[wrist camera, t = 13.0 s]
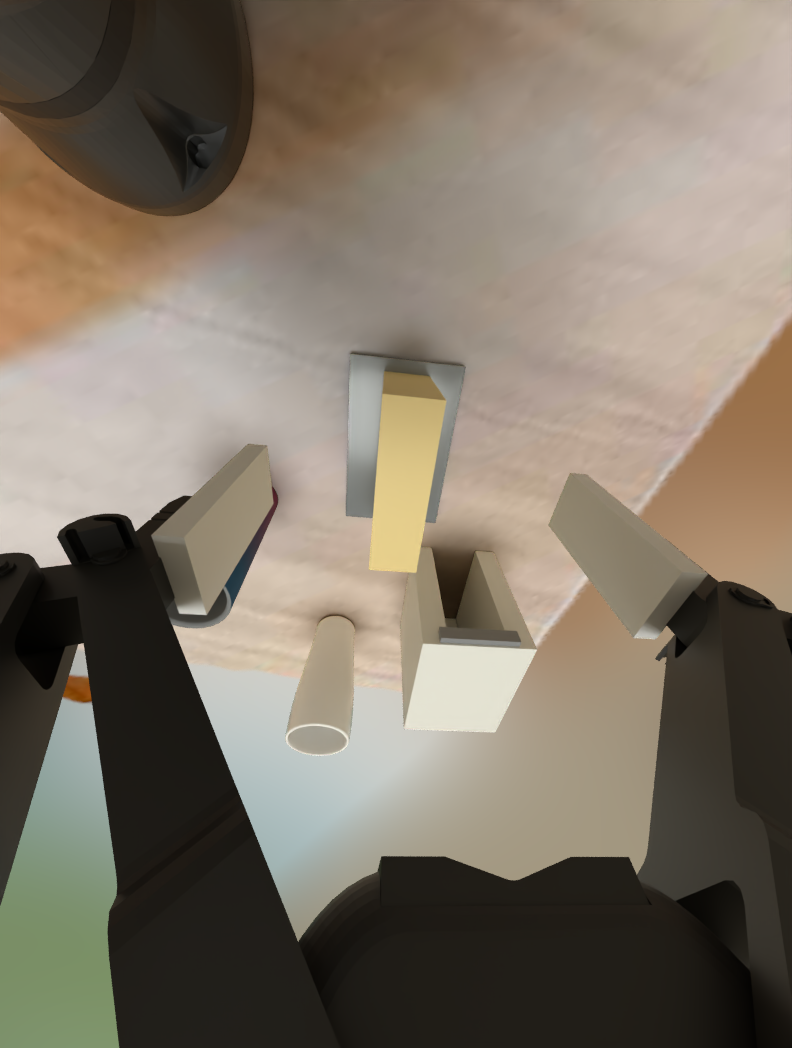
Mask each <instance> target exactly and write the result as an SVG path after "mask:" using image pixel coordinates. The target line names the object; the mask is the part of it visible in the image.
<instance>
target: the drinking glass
mask: <svg viewBox="0 0 792 1048" xmlns="http://www.w3.org/2000/svg"><path fill="white" fill-rule="evenodd" d="M354 636H355V628H354V625H353V624H352V622H351V621H349V620H348V619H346V618H344V617H341V616H329V617H326V618H324V619H323V620H321V621H320V622H319V624H318V626H317V629H316V633H315V637H314V640H313V643H312V646H311V649H310V652H309V655H308V658H307V661H306V664H305V667H304V670H303V673H302V676H301V679H300V682H299V685H298V688H297V691H296V694H295V697H294V701H293V704H292V708H291V712H290V716H289V722H288V726H287V731H286V736H285V739H286V742H287V744H288V745H289V746H290V747H291V748H292V749H294V750H295V751H298V752H300V753H304V754H307V755H314V756H323V755H324V756H325V755H331V754H335V753H338V752H340V751H342V750H344V749H345V748H346V746H347V745H348V743H349V739H350V731H351V724H352V714H353V694H354Z"/></svg>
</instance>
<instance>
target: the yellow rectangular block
mask: <svg viewBox="0 0 792 1048" xmlns="http://www.w3.org/2000/svg"><path fill="white" fill-rule="evenodd" d="M445 406H446V399H445V398H444V396H443V395H442V393H441V392H440V390H439V389H438V388H437V386H436V385H435V383H434V382H433V380H432V379H431V377H430V376H424V375H415V374H406V373H396V372H387V371H384V380H383V392H382V405H381V418H380V431H379V444H378V457H377V470H376V483H375V496H374V509H373V522H372V535H371V548H370V561H369V570H381V571H396V572H411V573H416V571H417V565H418V560H419V554H420V548H421V543H422V537H423V531H424V525H425V520H426V514H427V508H428V503H429V497H430V491H431V486H432V480H433V474H434V469H435V463H436V457H437V452H438V446H439V440H440V435H441V429H442V423H443V417H444V412H445Z"/></svg>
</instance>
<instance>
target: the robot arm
mask: <svg viewBox="0 0 792 1048" xmlns="http://www.w3.org/2000/svg"><path fill="white" fill-rule="evenodd" d="M252 105H253V76H252V63H251V53H250V47H249V40H248V34H247V29H246V24H245V20H244V16H243V11H242V7H241V4H240V0H0V112H1V113H3V114H4V115H5V116H6V117H7V118H8V119H9V120H10V121H11V122H12V123H13V124H14V125H15V126H17V127H18V128H19V129H20V130H21V131H22V132H23V133H24V134H25V135H26V136H28V137H29V138H30V139H31V140H32V141H33V142H34V143H35V144H36V145H37V146H38V147H39V148H40V150H41V151H43V152H44V153H45V154H46V155H47V156H48V157H49V158H50V159H51V160H52V161H53V162H54V163H56V164H57V165H58V166H59V167H60V168H61V169H63V170H64V171H65V172H67V173H68V174H69V175H70V176H72V177H73V178H75V179H76V180H78V181H79V182H81V183H82V184H84V185H85V186H87V187H88V188H90V189H92V190H93V191H95V192H97V193H99V194H101V195H102V196H104V197H107V198H109V199H111V200H113V201H116V202H118V203H120V204H123V205H125V206H127V207H130V208H132V209H135V210H138V211H141V212H144V213H148V214H153V215H160V216H177V215H184V214H188V213H191V212H194V211H197V210H199V209H201V208H203V207H205V206H206V205H208V204H209V203H211V202H212V201H213V200H214V199H216V198H217V197H218V196H219V195H220V194H221V193H222V192H223V190H224V189H225V188H226V187H227V186H228V184H229V183H230V181H231V180H232V178H233V176H234V175H235V173H236V171H237V169H238V167H239V164H240V162H241V160H242V157H243V154H244V151H245V148H246V144H247V140H248V136H249V131H250V124H251V117H252ZM273 504H274V503H273V494H272V485H271V476H270V467H269V458H268V449H267V446H266V445H254V444H248V445H247V446H245V447H244V448H243V449H242V450H241V451H240V452H239V453H238V454H237V455H236V456H235V457H234V458H233V459H232V460H231V461H230V462H228V463H227V464H226V465H225V466H224V467H223V468H222V469H221V470H220V471H219V472H218V473H217V474H216V475H215V476H214V477H212V478H211V479H210V480H209V481H208V482H207V483H206V484H205V485H204V486H203V487H202V488H201V489H200V490H199V491H198V492H197V493H195V494H194V495H193V496H182V497H180V498H178V499H176V500H174V501H172V502H169V503H168V504H167V505H166V506H165V507H164V508H162V509H161V510H160V511H159V513H157V514H156V515H154V516H153V517H152V518H151V520H149V521H147V522H146V523H145V524H144V525H143V526H142V527H141V528H139V529H138V530H137V531H136V532H135V530H134V527H133V525H132V522H131V520H130V519H129V518H128V517H127V516H124V515H120V514H100V515H93V516H89V517H86V518H82V519H79V520H77V521H75V522H73V523H70V524H68V525H67V526H65V527H64V528H63V529H62V530H60V531H59V534H58V536H57V538H58V540H59V542H60V543H61V545H62V547H63V549H64V551H65V553H66V554H67V556H68V558H69V560H70V562H71V564H70V565H62V566H54V567H46V568H40V567H39V566H38V564H37V563H36V561H35V559H34V558H33V557H32V556H30V555H29V554H24V553H6V554H0V905H1V902H2V898H3V895H4V891H5V888H6V884H7V881H8V878H9V875H10V871H11V868H12V865H13V861H14V858H15V854H16V851H17V848H18V844H19V841H20V838H21V834H22V831H23V828H24V824H25V821H26V818H27V814H28V811H29V807H30V804H31V800H32V797H33V794H34V790H35V787H36V784H37V781H38V777H39V774H40V771H41V767H42V764H43V760H44V757H45V754H46V750H47V747H48V744H49V740H50V737H51V733H52V730H53V727H54V724H55V720H56V717H57V714H58V710H59V707H60V703H61V700H62V697H63V693H64V690H65V687H66V683H67V680H68V677H69V673H70V670H71V667H72V663H73V659H74V656H75V653H76V650H77V646H78V644H81V643H84V648H85V655H86V663H87V670H88V677H89V684H90V691H91V698H92V705H93V711H94V719H95V726H96V733H97V741H98V748H99V754H100V762H101V768H102V776H103V783H104V790H105V797H106V804H107V811H108V817H109V825H110V833H111V840H112V847H113V854H114V861H115V868H116V876H117V896H116V899H115V901H114V903H113V905H112V907H111V909H110V911H109V921H108V945H109V961H110V969H111V978H112V987H113V996H114V1005H115V1012H116V1021H117V1031H118V1040H119V1048H792V613H788V612H785V611H781V610H778V609H777V608H776V607H775V605H774V604H773V603H772V602H771V601H770V600H769V599H767V598H766V597H765V596H763V595H762V594H760V593H758V592H757V591H755V590H753V589H750V588H748V587H746V586H744V585H741V584H737V583H734V582H728V581H722V582H718V581H717V580H715V579H714V578H713V577H711V575H709V574H708V573H707V572H706V571H704V570H703V569H702V568H701V567H700V566H698V565H697V564H696V563H695V562H693V561H692V560H691V559H690V558H688V557H687V556H686V555H685V554H683V553H682V552H681V551H679V550H678V548H676V547H675V546H674V545H673V544H671V543H670V542H669V541H667V540H666V539H665V538H664V537H662V536H661V535H660V534H659V533H657V532H656V531H655V530H654V529H653V528H651V527H650V526H649V525H648V524H647V523H645V522H644V521H643V520H642V519H640V518H639V517H638V516H637V515H635V514H634V513H633V512H632V511H631V510H629V509H628V508H627V507H626V506H624V505H623V504H622V503H621V502H620V501H618V500H617V499H616V498H615V497H613V496H612V495H611V494H610V493H609V492H607V491H606V490H605V489H604V488H602V487H601V486H600V485H599V484H598V483H596V482H595V481H594V480H593V479H591V478H590V477H589V476H588V475H587V474H576V473H570V474H569V477H568V479H567V481H566V484H565V486H564V489H563V491H562V493H561V496H560V498H559V501H558V503H557V505H556V508H555V510H554V513H553V515H552V517H551V520H550V522H549V527H550V528H551V529H552V531H553V532H554V533H555V535H556V536H557V537H558V539H559V540H560V541H561V543H562V544H563V545H564V547H565V548H566V549H567V551H568V552H569V553H570V554H571V556H572V557H573V558H574V560H575V561H576V562H577V564H578V565H579V566H580V568H581V569H582V570H583V572H584V573H585V574H586V576H587V577H588V578H589V580H590V581H591V582H592V584H593V585H594V586H595V588H596V589H597V590H598V592H599V593H600V594H601V596H602V597H603V598H604V599H605V601H606V602H607V604H608V605H609V606H610V607H611V609H612V610H613V612H614V613H615V614H616V616H617V617H618V618H619V620H620V621H621V622H622V623H623V625H624V626H625V627H626V629H627V630H628V631H629V633H630V634H631V635H632V637H633V638H645V639H656V638H657V637H658V636H659V634H660V633H661V632H662V631H663V629H664V628H665V627H666V626H668V627H669V628H670V629H671V631H672V632H673V633H674V634H675V635H674V636H673V637H672V639H671V640H670V641H669V642H668V643H667V644H666V646H665V647H664V648H663V649H662V650H661V652H660V653H659V654H658V655H657V657H656V660H658V661H660V660H661V658H663V657H667V660H666V663H665V664H666V670H665V679H664V690H663V701H662V711H661V720H660V731H659V741H658V751H657V761H656V771H655V781H654V791H653V803H652V812H651V823H650V833H649V843H648V850H647V856H646V858H645V862H644V864H643V866H642V867H641V869H640V871H639V873H638V874H637V875H636V872H635V870H634V868H633V866H632V863H631V861H630V859H629V857H570V858H567V859H565V860H563V861H561V862H559V863H556V864H554V865H552V866H549V867H547V868H545V869H543V870H540V871H538V872H536V873H533V874H531V875H529V876H527V877H525V878H522V879H520V880H516V881H511V880H507V879H504V878H501V877H499V876H496V875H493V874H491V873H488V872H485V871H482V870H480V869H477V868H474V867H471V866H468V865H466V864H463V863H461V862H458V861H455V860H452V859H450V858H447V857H403V856H401V857H400V856H399V857H397V856H396V857H395V856H394V857H393V856H391V857H390V856H388V857H387V856H383V857H381V860H380V864H379V868H378V872H376V873H374V874H372V875H369V876H367V877H364V878H362V879H361V880H359V881H357V882H356V883H354V884H352V885H351V886H349V887H347V888H346V889H345V890H344V891H342V892H341V893H340V894H339V895H338V896H336V897H335V898H334V899H333V900H332V901H331V902H330V903H329V904H328V905H327V906H326V907H325V908H324V909H323V910H322V911H321V912H320V914H319V915H318V916H317V917H316V918H315V920H314V921H313V922H312V923H311V925H310V926H309V927H308V929H307V930H306V932H305V933H304V934H303V935H302V937H301V939H300V940H299V942H298V941H297V938H296V936H295V933H294V931H293V928H292V926H291V923H290V921H289V918H288V915H287V913H286V910H285V908H284V905H283V903H282V901H281V898H280V895H279V893H278V890H277V888H276V885H275V883H274V880H273V878H272V875H271V873H270V870H269V868H268V865H267V862H266V860H265V858H264V855H263V853H262V850H261V847H260V845H259V842H258V840H257V837H256V835H255V832H254V830H253V827H252V825H251V822H250V820H249V817H248V815H247V812H246V810H245V807H244V805H243V803H242V800H241V798H240V795H239V793H238V790H237V788H236V785H235V783H234V780H233V778H232V775H231V773H230V770H229V768H228V765H227V762H226V760H225V758H224V755H223V753H222V750H221V748H220V745H219V742H218V740H217V737H216V735H215V732H214V730H213V727H212V725H211V723H210V720H209V717H208V715H207V712H206V709H205V707H204V704H203V702H202V700H201V697H200V694H199V692H198V689H197V687H196V684H195V682H194V679H193V677H192V674H191V672H190V669H189V667H188V664H187V661H186V659H185V656H184V654H183V651H182V649H181V646H180V644H179V641H178V639H177V636H176V634H175V631H174V629H173V626H172V624H171V621H170V619H169V616H168V613H167V611H166V609H167V608H168V607H169V605H170V604H171V603H172V601H173V600H175V603H176V606H177V609H178V611H179V614H196V615H207V614H208V612H209V611H210V609H211V607H212V606H213V604H214V602H215V601H216V599H217V597H218V596H219V594H220V592H221V591H222V589H223V587H224V585H225V584H226V582H227V580H228V579H229V577H230V575H231V574H232V572H233V570H234V569H235V567H236V565H237V564H238V562H239V560H240V559H241V557H242V555H243V554H244V552H245V550H246V549H247V547H248V545H249V544H250V542H251V540H252V539H253V537H254V535H255V534H256V532H257V530H258V529H259V527H260V525H261V524H262V522H263V520H264V519H265V517H266V515H267V514H268V512H269V510H270V509H271V507H272V505H273Z"/></svg>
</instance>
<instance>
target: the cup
mask: <svg viewBox="0 0 792 1048" xmlns="http://www.w3.org/2000/svg"><path fill="white" fill-rule="evenodd" d="M272 494H273V503H274V504H273V505H272V507H271V509H270V510H269V512H268V514H267V515H266V517H265V519H264V520H263V522H262V524H261V525H260V527H259V529H258V530H257V532H256V534H255V535H254V537H253V539H252V540H251V542H250V544H249V545H248V547H247V549H246V550H245V552H244V554H243V555H242V557H241V559H240V560H239V562H238V564H237V565H236V567H235V569H234V570H233V572H232V574H231V575H230V577H229V579H228V580H227V582H226V584H225V585H224V587H223V589H222V591H221V592H220V594H219V596H218V597H217V599H216V601H215V602H214V604H213V606H212V607H211V609H210V611H209V612H208V614H207V615H196V614H179V611H178V609H177V606H176V603H175V600H173V601H172V603H171V604H170V605H169V607H168V608H167V609H166V611H167V613H168V616H169V619H170V621H171V624H172V625H175V626H179V627H185V628H205V627H209V626H213V625H215V624H218V623H220V622H221V621H222V620H224V619H225V618H226V617H227V615H228V614H229V612H230V610H231V608H232V606H233V603H234V601H235V599H236V597H237V594H238V592H239V590H240V588H241V586H242V583H243V581H244V579H245V577H246V574H247V572H248V570H249V568H250V565H251V563H252V561H253V559H254V556H255V554H256V552H257V550H258V548H259V545H260V543H261V541H262V539H263V536H264V534H265V532H266V530H267V527H268V525H269V523H270V521H271V518H272V516H273V514H274V512H275V510H276V507H277V504H278V497H277V494H276V492H275V490H274V489H273V487H272Z"/></svg>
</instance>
